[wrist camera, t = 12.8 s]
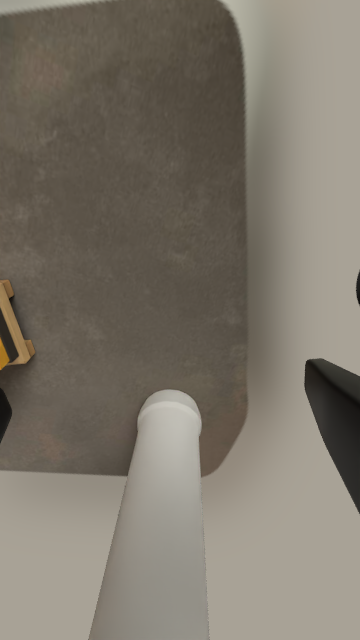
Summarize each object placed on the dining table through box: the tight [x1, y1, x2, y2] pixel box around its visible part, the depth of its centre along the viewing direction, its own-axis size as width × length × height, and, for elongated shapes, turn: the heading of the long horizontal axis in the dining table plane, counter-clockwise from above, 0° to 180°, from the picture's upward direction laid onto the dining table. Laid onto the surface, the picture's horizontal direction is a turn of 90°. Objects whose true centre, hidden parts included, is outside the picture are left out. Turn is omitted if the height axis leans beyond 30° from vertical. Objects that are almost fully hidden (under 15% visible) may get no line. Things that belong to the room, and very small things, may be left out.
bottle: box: [88, 389, 209, 640], centre depth 14 cm, size 5×5×25 cm
